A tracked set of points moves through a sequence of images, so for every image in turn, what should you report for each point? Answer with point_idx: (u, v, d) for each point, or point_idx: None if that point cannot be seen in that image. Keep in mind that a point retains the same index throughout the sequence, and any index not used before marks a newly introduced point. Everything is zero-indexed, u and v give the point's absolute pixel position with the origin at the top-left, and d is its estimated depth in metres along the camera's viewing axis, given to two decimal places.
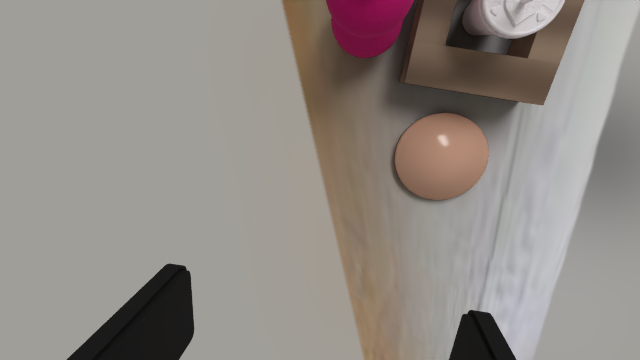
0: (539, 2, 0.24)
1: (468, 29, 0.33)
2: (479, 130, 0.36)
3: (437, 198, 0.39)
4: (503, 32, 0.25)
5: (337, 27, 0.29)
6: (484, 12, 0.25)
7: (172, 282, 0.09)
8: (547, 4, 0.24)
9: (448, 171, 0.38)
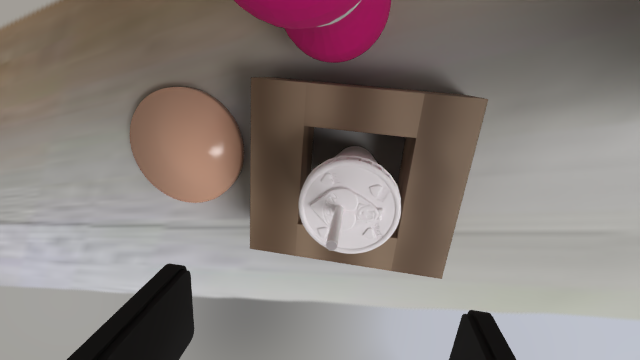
0: None
1: None
2: (226, 187, 0.29)
3: (135, 152, 0.29)
4: (302, 193, 0.19)
5: None
6: (325, 165, 0.18)
7: (172, 282, 0.09)
8: None
9: (171, 160, 0.29)
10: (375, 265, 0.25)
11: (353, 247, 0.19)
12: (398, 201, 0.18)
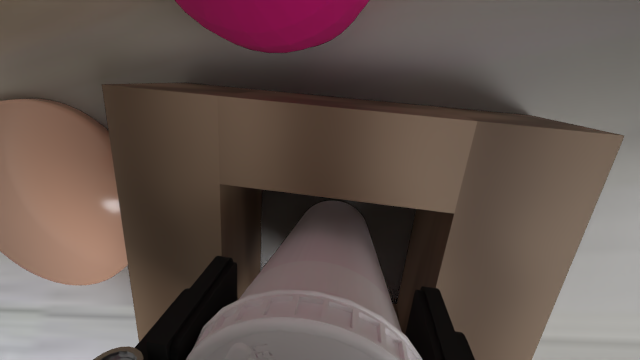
0: None
1: (301, 218, 0.15)
2: (122, 264, 0.18)
3: None
4: None
5: None
6: (231, 325, 0.07)
7: (224, 272, 0.10)
8: None
9: (29, 219, 0.17)
10: None
11: None
12: None
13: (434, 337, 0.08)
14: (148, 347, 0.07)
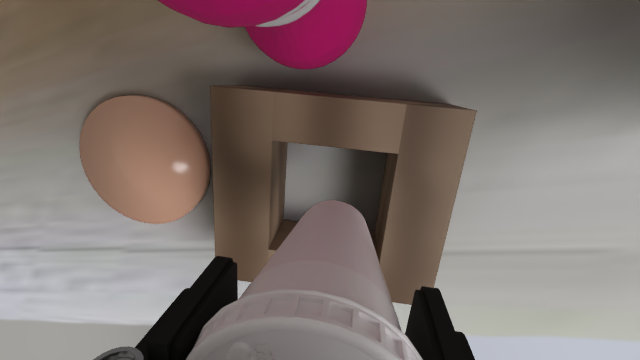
0: None
1: (301, 218, 0.15)
2: (191, 206, 0.26)
3: (86, 169, 0.26)
4: None
5: None
6: (231, 324, 0.07)
7: (224, 272, 0.10)
8: None
9: (128, 177, 0.26)
10: None
11: None
12: None
13: (434, 337, 0.08)
14: (148, 347, 0.07)
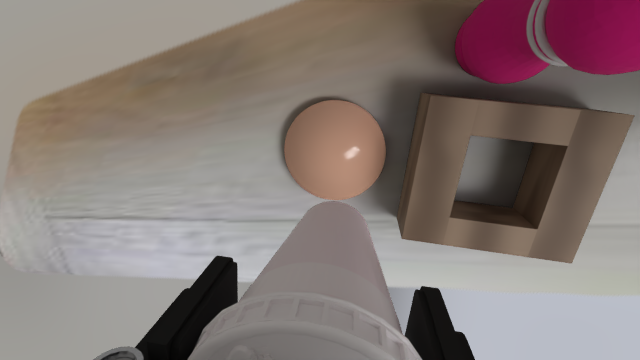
0: None
1: (301, 219, 0.15)
2: (367, 186, 0.33)
3: (287, 156, 0.34)
4: None
5: None
6: (232, 327, 0.07)
7: (224, 272, 0.10)
8: None
9: (320, 162, 0.33)
10: (514, 252, 0.29)
11: None
12: None
13: (434, 337, 0.08)
14: (148, 347, 0.07)
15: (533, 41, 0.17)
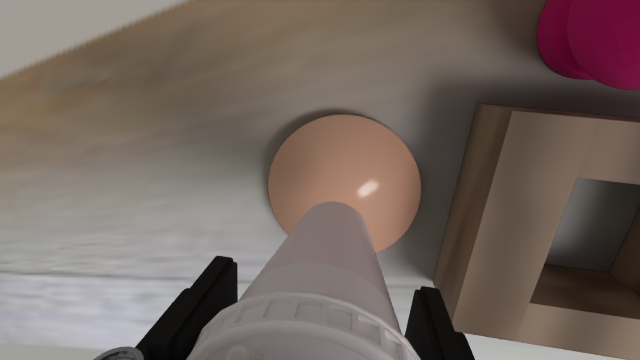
0: None
1: None
2: (392, 241, 0.23)
3: (272, 197, 0.23)
4: None
5: None
6: (230, 328, 0.07)
7: (224, 272, 0.10)
8: None
9: None
10: (631, 356, 0.18)
11: None
12: None
13: (434, 337, 0.08)
14: (148, 347, 0.07)
15: None
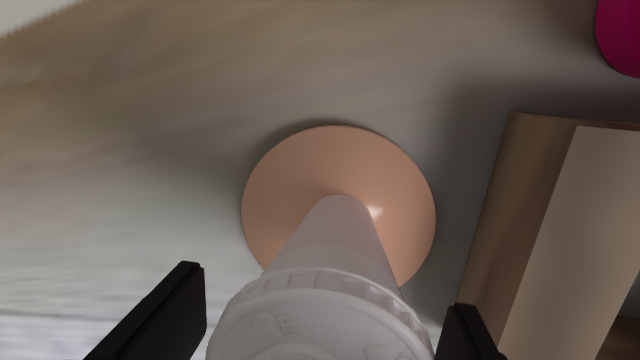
0: None
1: (309, 211, 0.16)
2: (398, 284, 0.18)
3: (246, 228, 0.18)
4: (209, 350, 0.08)
5: None
6: (257, 296, 0.07)
7: (188, 278, 0.10)
8: None
9: None
10: None
11: None
12: None
13: None
14: None
15: None
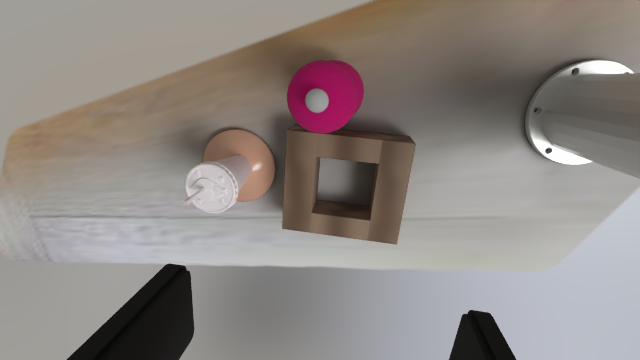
0: (204, 198, 0.36)
1: None
2: (264, 191, 0.46)
3: None
4: (185, 181, 0.36)
5: None
6: (195, 166, 0.35)
7: (172, 282, 0.09)
8: (206, 203, 0.37)
9: None
10: (358, 237, 0.42)
11: (215, 209, 0.37)
12: (232, 184, 0.35)
13: None
14: None
15: None
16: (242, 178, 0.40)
